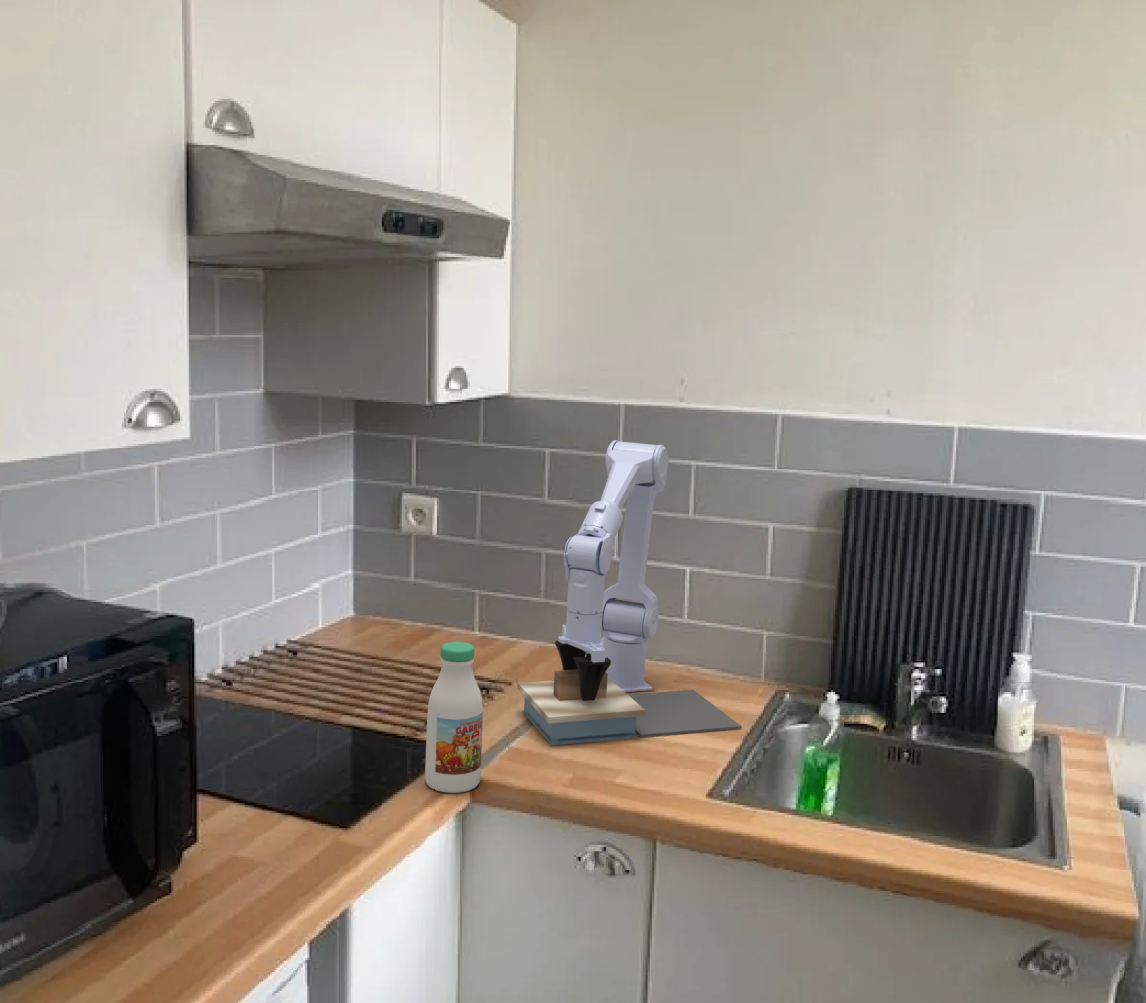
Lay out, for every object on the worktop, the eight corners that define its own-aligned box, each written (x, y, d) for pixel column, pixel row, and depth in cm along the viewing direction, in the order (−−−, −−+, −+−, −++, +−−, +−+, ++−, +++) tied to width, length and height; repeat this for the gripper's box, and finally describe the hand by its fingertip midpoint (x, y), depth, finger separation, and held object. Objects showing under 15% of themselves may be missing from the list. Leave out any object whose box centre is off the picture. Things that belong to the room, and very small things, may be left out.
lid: (517, 688, 187) (518, 659, 186) (607, 682, 192) (609, 654, 192) (548, 723, 172) (549, 692, 171) (644, 715, 178) (646, 685, 177)
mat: (599, 699, 196) (599, 696, 196) (693, 692, 202) (693, 689, 202) (640, 737, 179) (640, 734, 179) (741, 729, 186) (741, 726, 185)
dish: (523, 713, 187) (525, 690, 186) (602, 707, 192) (604, 685, 191) (551, 745, 174) (552, 720, 174) (634, 738, 179) (636, 714, 178)
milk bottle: (415, 787, 156) (419, 648, 153) (440, 767, 164) (445, 634, 160) (465, 798, 154) (471, 657, 151) (489, 778, 161) (495, 642, 158)
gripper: (546, 599, 185) (542, 678, 187) (576, 623, 172) (571, 709, 174) (586, 597, 188) (582, 676, 190) (619, 621, 174) (614, 706, 176)
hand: (579, 691), depth 182 cm, fingers open, 7 cm apart
